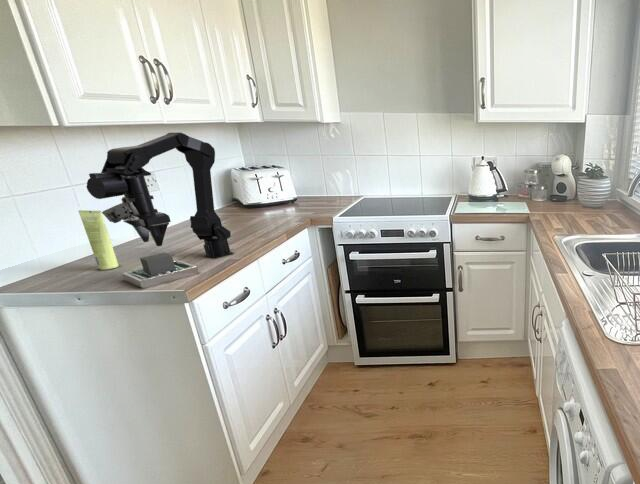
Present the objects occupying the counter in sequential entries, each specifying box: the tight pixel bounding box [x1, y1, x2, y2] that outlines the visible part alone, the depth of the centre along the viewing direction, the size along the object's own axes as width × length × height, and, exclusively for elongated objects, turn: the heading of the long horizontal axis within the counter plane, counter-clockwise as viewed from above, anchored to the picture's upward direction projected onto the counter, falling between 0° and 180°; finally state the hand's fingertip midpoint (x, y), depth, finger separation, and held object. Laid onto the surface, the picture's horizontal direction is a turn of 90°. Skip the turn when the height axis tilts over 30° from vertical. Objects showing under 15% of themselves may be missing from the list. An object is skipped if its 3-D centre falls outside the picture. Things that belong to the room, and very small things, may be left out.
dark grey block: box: [139, 252, 176, 276], centre depth 129 cm, size 6×5×5 cm
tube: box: [77, 209, 119, 271], centre depth 135 cm, size 6×5×20 cm
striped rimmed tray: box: [121, 259, 199, 290], centre depth 130 cm, size 15×13×2 cm
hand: (152, 243), depth 127 cm, fingers open, 9 cm apart
